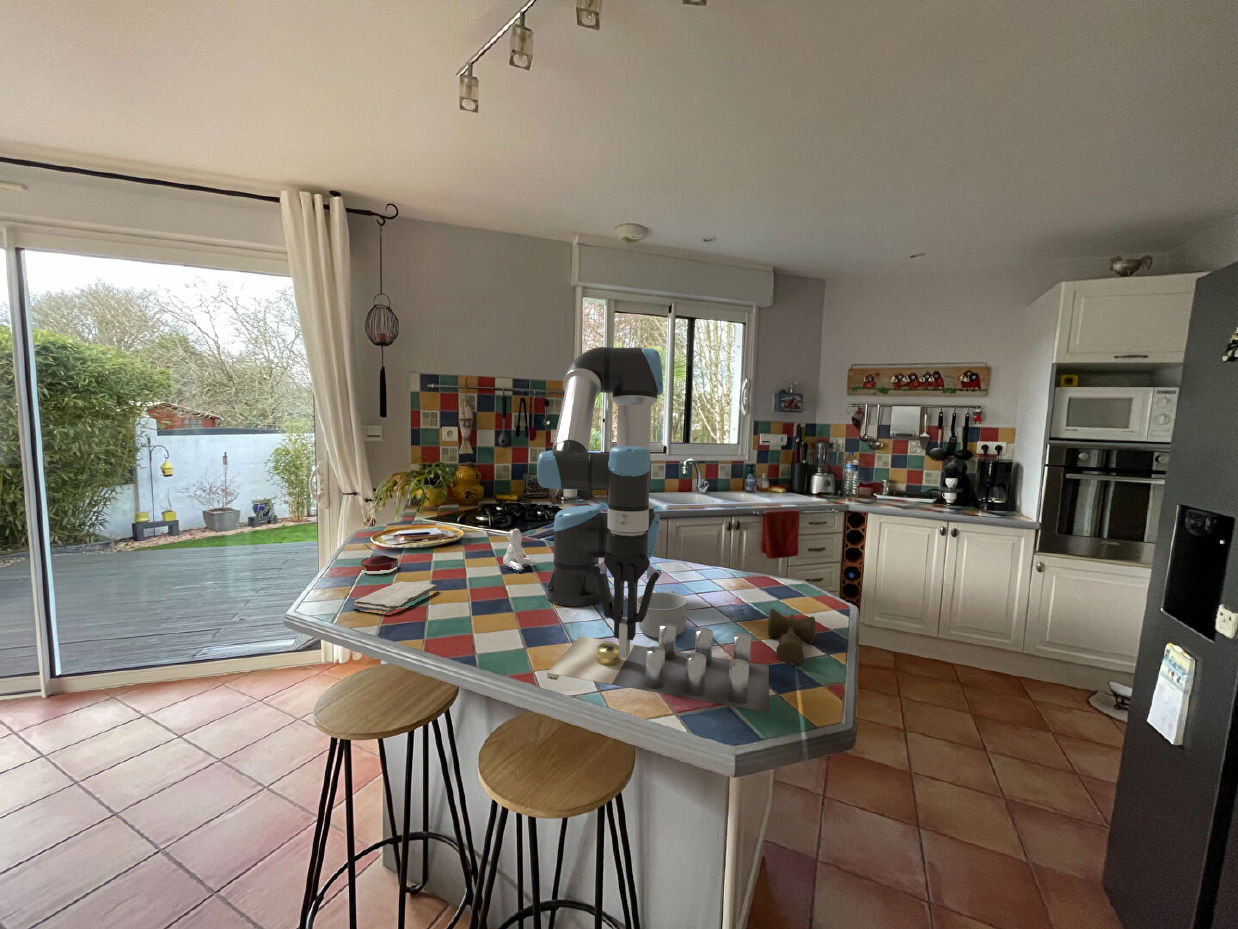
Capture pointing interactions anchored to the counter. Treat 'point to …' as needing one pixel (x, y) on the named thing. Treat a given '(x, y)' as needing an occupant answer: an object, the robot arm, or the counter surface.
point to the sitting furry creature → (515, 551)
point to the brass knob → (608, 654)
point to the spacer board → (633, 671)
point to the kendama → (791, 635)
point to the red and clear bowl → (379, 562)
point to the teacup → (663, 612)
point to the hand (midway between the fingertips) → (624, 654)
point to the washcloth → (393, 596)
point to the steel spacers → (700, 662)
